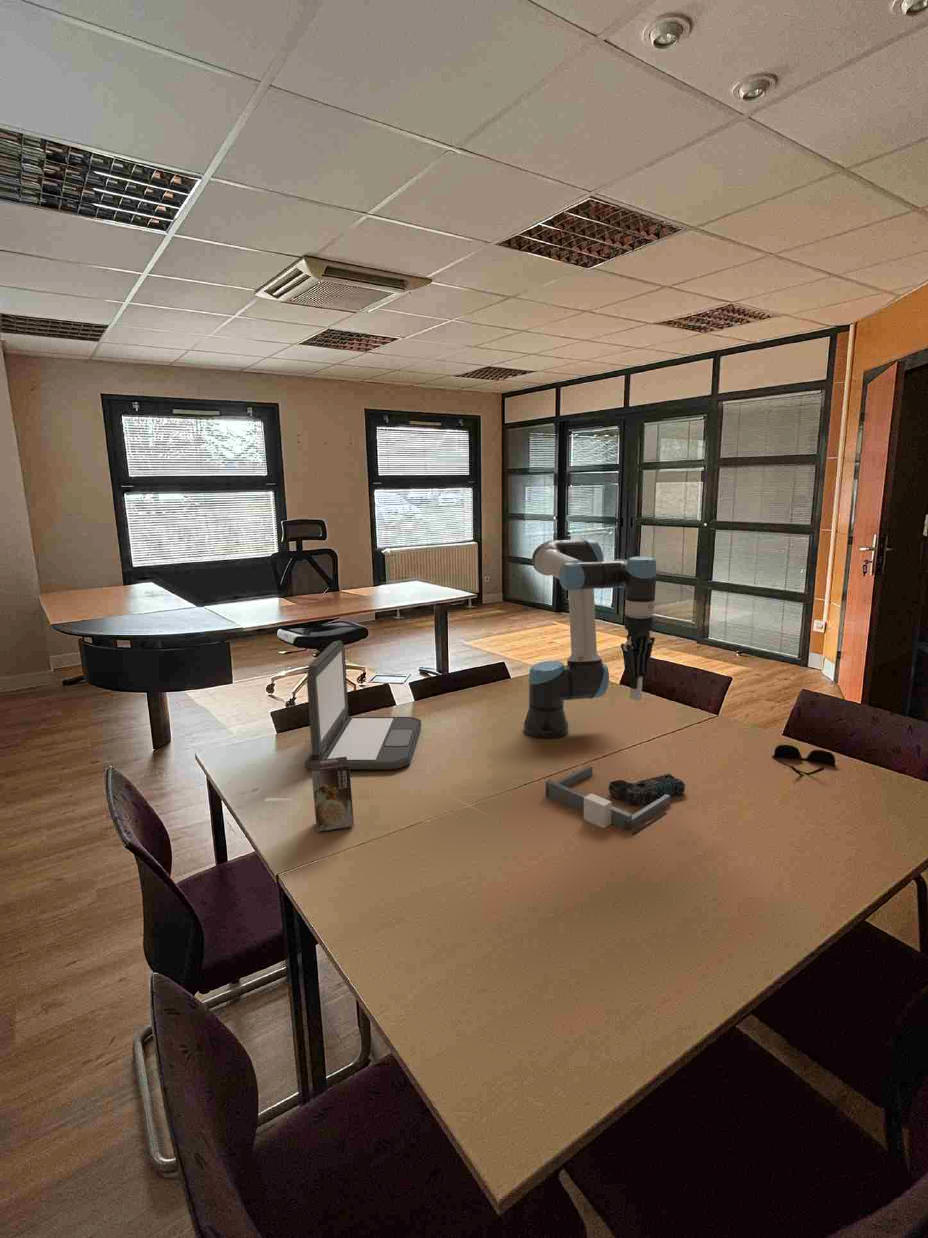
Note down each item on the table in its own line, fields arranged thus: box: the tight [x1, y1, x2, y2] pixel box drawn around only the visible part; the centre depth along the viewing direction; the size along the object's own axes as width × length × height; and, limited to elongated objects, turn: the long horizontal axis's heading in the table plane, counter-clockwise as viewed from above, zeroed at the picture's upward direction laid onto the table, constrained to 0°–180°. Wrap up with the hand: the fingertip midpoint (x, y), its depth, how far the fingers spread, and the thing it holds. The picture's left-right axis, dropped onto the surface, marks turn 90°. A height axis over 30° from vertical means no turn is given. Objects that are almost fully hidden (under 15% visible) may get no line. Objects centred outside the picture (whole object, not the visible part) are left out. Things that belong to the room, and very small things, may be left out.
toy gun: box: [607, 773, 686, 807], centre depth 167 cm, size 4×19×10 cm
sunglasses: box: [771, 744, 836, 777], centre depth 179 cm, size 17×14×5 cm
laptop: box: [303, 640, 422, 770], centre depth 201 cm, size 38×31×32 cm
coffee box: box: [310, 757, 355, 832], centre depth 155 cm, size 9×6×16 cm
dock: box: [545, 764, 671, 836], centre depth 163 cm, size 28×22×6 cm
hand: (635, 698), depth 173 cm, fingers closed
